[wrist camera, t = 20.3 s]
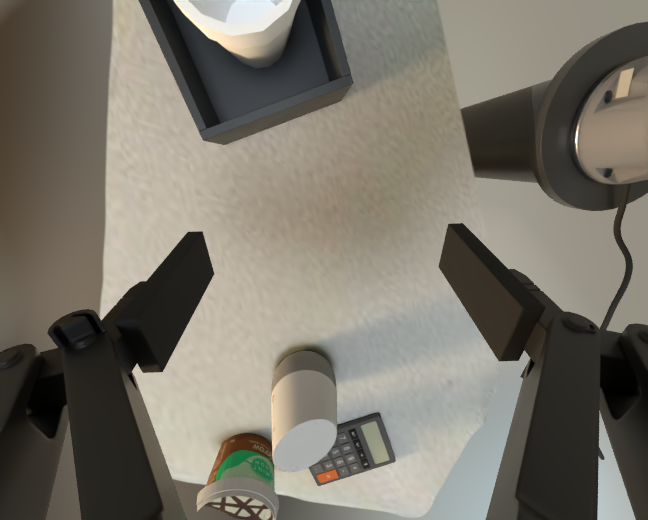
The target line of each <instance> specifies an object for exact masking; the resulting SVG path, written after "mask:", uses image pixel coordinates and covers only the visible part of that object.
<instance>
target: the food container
mask: <svg viewBox="0 0 648 520" xmlns="http://www.w3.org/2000/svg"><path fill="white" fill-rule="evenodd" d="M204 505H205V506H209V507H212V508H215V509H218V510H220V511H222V512H224V513H226V514H228V515H230V516H232V517H234V518H238V519H245V520H276V517H277V513H278V508H279V500H278V497H277V495H276V493H275V492H274V463H273V457H272V445H271V443H270V442H269V441H268V440H267V439H266V438H264V437H262V436H260V435H257V434H250V433H246V434H239V435H235V436H233V437H231V438H229V439H228V440H226V441H225V442H224V443H223V444H222V445H221V448H220V450H219V453H218V456H217V458H216V461H215V463H214V466H213V469H212V471H211V474H210V476H209V479H208V482H207V484H206V487H205V488H203V489H202V490H201V491H200V492H199V493H198V498H197V506H198V508H197V511H198V510H199V509H200V508H201V507H202V506H204Z"/></svg>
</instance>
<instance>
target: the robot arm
mask: <svg viewBox="0 0 648 520" xmlns="http://www.w3.org/2000/svg"><path fill="white" fill-rule="evenodd" d="M569 150H570V156H571V159H572V162H573V164H574V166H575V168H576V169H577V171H578V172H579V173H580V174H581V175H582V176H583V177H585V178H586V179H588V180H590V181H592V182H595V183H600V184H612V185H619V184H623V188H622V193H621V198H620V203H619V207H618V211H617V214H616V217H615V221H614V236H615V239H616V242H617V244H618V246H619V248H620V249H621V251H622V253H623V255H624V257H625V261H626V271H625V276H624V279H623V282H622V284H621V286H620V288H619V290H618V292H617V294H616V296H615V298H614V300H613V301H612V303H611V305H610V307H609V309H608V312H607V314H606V316H605V319H604V321H603V323H602V325H601V327H600V329H599V328H598V327H597V326H596V325H595V324H594V323H593V322H592V321H590V320H589V319H587V318H585V317H583V316H581V315H578V314H575V313H571V312H564V311H562V310H561V309H560V308H559V307H558V306H557V305H556V304H555V303H554V302H553V301H552V300H551V299H550V298H549V297H548V296H547V295H546V294H545V293H544V292H543V291H540V289H539V288H538V287H537V286H536V285H534V283H533V282H532V281H531V280H530V279H529V278H528V277H527V276H526V275H524V274H522V273H520V272H519V271H517V270H515V269H508V268H507V267H506V266H504V265H503V264H502V263H501V262H500V261H499V259H498V258H497V257H496V256H495V255H493V253H492V252H491V251H490V250H489V249H488V248H487V247H486V246H485V245H484V244H483V243H482V242H481V241H480V240H479V239H478V238H477V237H476V236H475V235H474V234H473V233H472V232H471V231H470V230H469V229H468V228H467V227H466V226H465V225H464V224H463V223H460V224H448V228H447V232H446V237H445V241H444V245H443V250H442V254H441V259H440V263H439V268H440V270H441V271H442V273H443V274H444V276H445V277H446V279H447V281H448V282H449V284H450V285H451V287H452V288H453V290H454V292H455V293H456V295H457V296H458V298H459V299H460V301H461V303H462V304H463V306H464V307H465V309H466V310H467V312H468V313H469V315H470V317H471V318H472V320H473V321H474V323H475V324H476V326H477V328H478V329H479V331H480V332H481V334H482V335H483V337H484V339H485V340H486V342H487V343H488V345H489V346H490V348H491V349H492V351H493V353H494V354H495V356H496V357H497V359H498V360H499V361H518V360H519V359H520V357H521V355H522V353H523V351H524V350H525V351H526V353H527V354H528V355H529V357H530V360H529V362H528V364H527V366H526V367H525V369H524V371H523V373H522V375H521V377H522V378H523V382H522V386H521V390H520V393H519V397H518V401H517V404H516V408H515V412H514V416H513V420H512V423H511V427H510V431H509V435H508V438H507V442H506V446H505V450H504V453H503V457H502V461H501V464H500V468H499V472H498V476H497V479H496V483H495V487H494V491H493V494H492V498H491V502H490V506H489V509H488V513H487V517H486V520H597V505H598V455H599V457H600V458H601V459H602V460H604V456H603V454H602V452H601V450H600V448H599V410H600V412H601V416H602V419H603V421H604V425H605V428H606V431H607V433H608V437H609V440H610V443H611V446H612V449H613V452H614V455H615V458H616V461H617V464H618V467H619V470H620V473H621V475H622V479H623V482H624V485H625V488H626V490H627V494H628V497H629V500H630V503H631V506H632V509H633V512H634V515H635V518H636V520H648V325H644V324H629V325H628V326H627V327H626V328H625V330H624V331H623V332H622V333H617V332H612V331H607V330H606V329H607V326H608V325H609V322H610V320H611V318H612V316H613V313H614V311H615V309H616V307H617V305H618V303H619V301H620V299H621V298H622V296H623V294H624V292H625V290H626V288H627V286H628V284H629V281H630V279H631V274H632V269H633V263H632V258H631V255H630V253H629V251H628V249H627V247H626V246H625V244H624V242H623V240H622V237H621V230H620V227H621V221H622V218H623V215H624V212H625V208H626V204H627V200H628V195H629V191H630V186H631V183H634V182H639V181H643V180H648V56H643V57H640V58H637V59H634V60H630V61H627V62H624V63H622V64H619V65H618V66H616V67H614V68H612V69H611V70H609V71H608V72H606V73H605V74H604V75H603V76H601V77H600V78H599V79H598V80H597V81H596V82H595V83H594V84H593V85H592V86H591V88H590V89H589V90H588V91H587V93H586V94H585V96H584V97H583V99H582V100H581V102H580V104H579V106H578V108H577V110H576V112H575V115H574V118H573V120H572V124H571V128H570V134H569ZM213 275H214V271H213V268H212V264H211V261H210V257H209V253H208V250H207V246H206V243H205V239H204V236H203V232H188V233H187V234H186V235H185V236H184V237H183V238H182V240H181V241H180V242H179V243H178V244H177V246H176V247H175V248H174V249H173V250H172V252H171V253H170V254H169V255H168V256H167V258H166V259H165V260H164V261H163V262H162V263H161V265H160V266H159V267H158V268H157V269H156V271H155V272H154V273H153V274H152V275H151V277H150V278H149V279H148V280H147V281H142V282H139V283H138V284H136V285H135V286H133V287H132V288H130V289H129V290H128V291H127V293H126V294H125V295H124V296H123V298H122V299H120V300H119V302H118V303H117V305H115V306H114V307H113V308H112V309H111V311H110V312H109V313H108V314H107V315H106V316H105V317H104V318H103V320H102V321H101V320H100V318H99V317H98V315H97V314H96V312H95V311H93V310H89V309H87V310H79V311H76V312H72V313H70V314H68V315H65V316H63V317H61V318H60V319H59V320H57V321H56V322H54V323H53V325H52V326H51V327H50V328H49V330H48V334H49V336H50V337H51V338H52V340H53V341H54V342H55V344H56V345H57V346H58V348H56V349H52V350H48V351H44V352H39V351H38V350H37V349H36V347H34V346H33V345H32V344H22V345H17V346H14V347H11V348H9V349H6V350H4V351H2V352H0V520H45V519H46V515H47V511H48V507H49V502H50V498H51V494H52V489H53V485H54V480H55V477H56V472H57V468H58V464H59V459H60V455H61V451H62V447H63V442H64V438H65V433H66V429H67V425H68V421H70V429H71V437H72V445H73V454H74V462H75V469H76V478H77V486H78V494H79V502H80V510H81V519H82V520H187V518H186V516H185V513H184V510H183V507H182V505H181V502H180V499H179V496H178V494H177V491H176V489H175V486H174V483H173V480H172V477H171V475H170V472H169V469H168V466H167V464H166V461H165V458H164V455H163V453H162V450H161V447H160V445H159V442H158V439H157V436H156V434H155V431H154V428H153V425H152V423H151V420H150V417H149V414H148V412H147V409H146V406H145V404H144V401H143V398H142V395H141V393H140V390H139V387H138V384H137V382H136V379H135V376H134V375H133V373H132V370H133V369H134V367H135V365H136V364H137V363H138V365H139V367H140V369H141V370H142V372H143V373H147V372H163V370H164V368H165V366H166V364H167V363H168V361H169V359H170V357H171V355H172V353H173V351H174V349H175V347H176V345H177V344H178V342H179V340H180V338H181V336H182V334H183V332H184V330H185V328H186V326H187V325H188V323H189V321H190V319H191V317H192V315H193V313H194V311H195V309H196V307H197V306H198V304H199V302H200V300H201V298H202V296H203V294H204V292H205V290H206V289H207V287H208V285H209V283H210V281H211V279H212V277H213Z"/></svg>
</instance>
